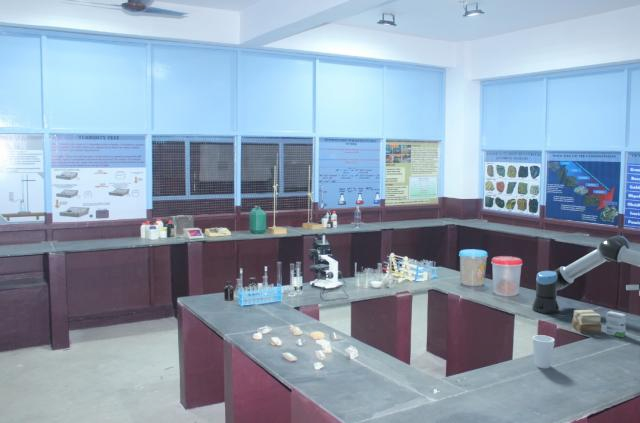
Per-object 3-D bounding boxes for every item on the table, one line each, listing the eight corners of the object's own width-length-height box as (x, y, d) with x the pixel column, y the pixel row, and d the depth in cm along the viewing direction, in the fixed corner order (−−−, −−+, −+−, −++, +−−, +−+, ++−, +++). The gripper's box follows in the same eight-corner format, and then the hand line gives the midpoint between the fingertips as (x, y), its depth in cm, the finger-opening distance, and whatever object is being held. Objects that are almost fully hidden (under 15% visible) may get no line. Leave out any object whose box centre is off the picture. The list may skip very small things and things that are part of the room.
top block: (573, 318, 315) (573, 310, 314) (591, 318, 315) (591, 309, 314) (581, 324, 305) (582, 315, 304) (600, 324, 305) (600, 315, 304)
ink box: (625, 335, 301) (627, 314, 299) (622, 337, 297) (623, 316, 296) (608, 331, 307) (609, 310, 305) (605, 333, 304) (606, 312, 302)
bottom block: (571, 327, 316) (572, 318, 315) (591, 327, 315) (591, 318, 315) (580, 333, 305) (580, 324, 304) (600, 333, 305) (601, 324, 304)
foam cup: (534, 369, 258) (535, 341, 256) (529, 361, 267) (530, 334, 265) (555, 370, 256) (557, 342, 255) (550, 362, 265) (551, 335, 264)
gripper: (688, 301, 286) (645, 303, 287) (660, 290, 311) (621, 292, 312) (688, 287, 285) (645, 288, 286) (660, 277, 310) (621, 278, 311)
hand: (632, 290), depth 299 cm, fingers open, 13 cm apart
